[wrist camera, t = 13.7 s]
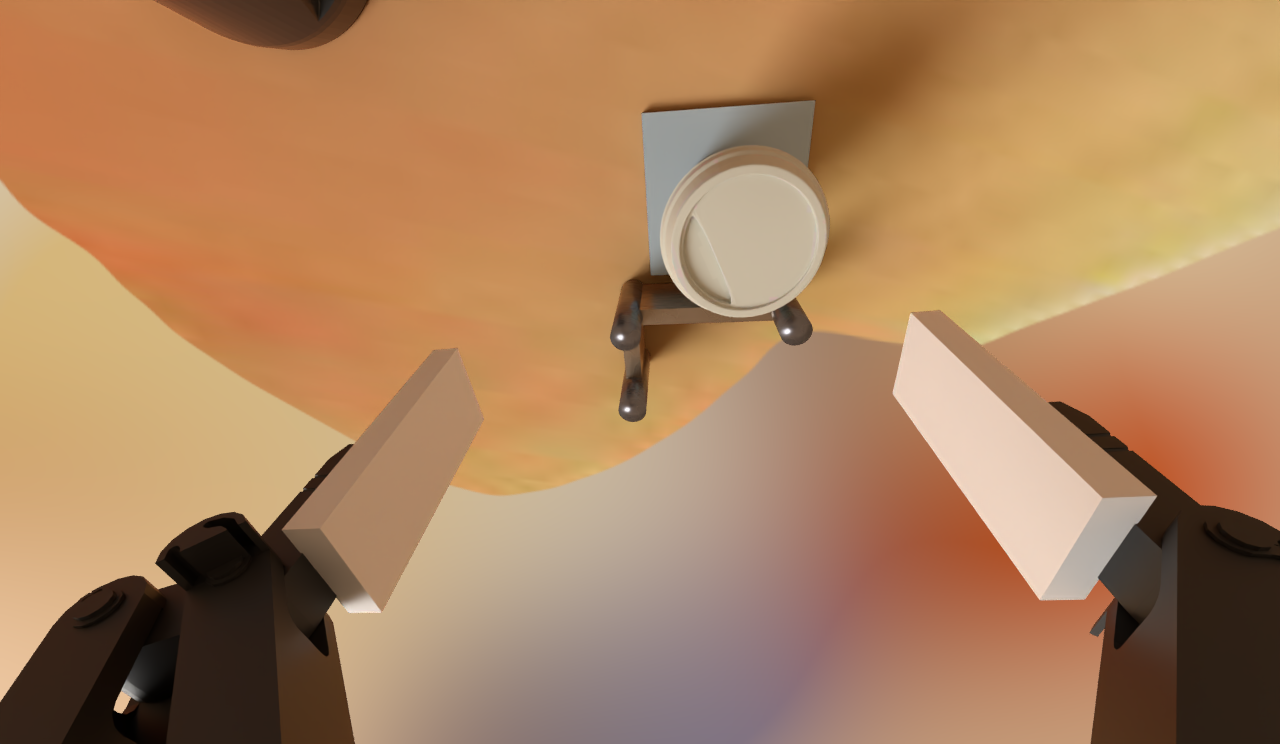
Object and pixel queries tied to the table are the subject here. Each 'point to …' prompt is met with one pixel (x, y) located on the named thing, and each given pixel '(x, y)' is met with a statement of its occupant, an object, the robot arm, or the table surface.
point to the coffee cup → (745, 231)
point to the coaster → (712, 147)
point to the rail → (675, 308)
